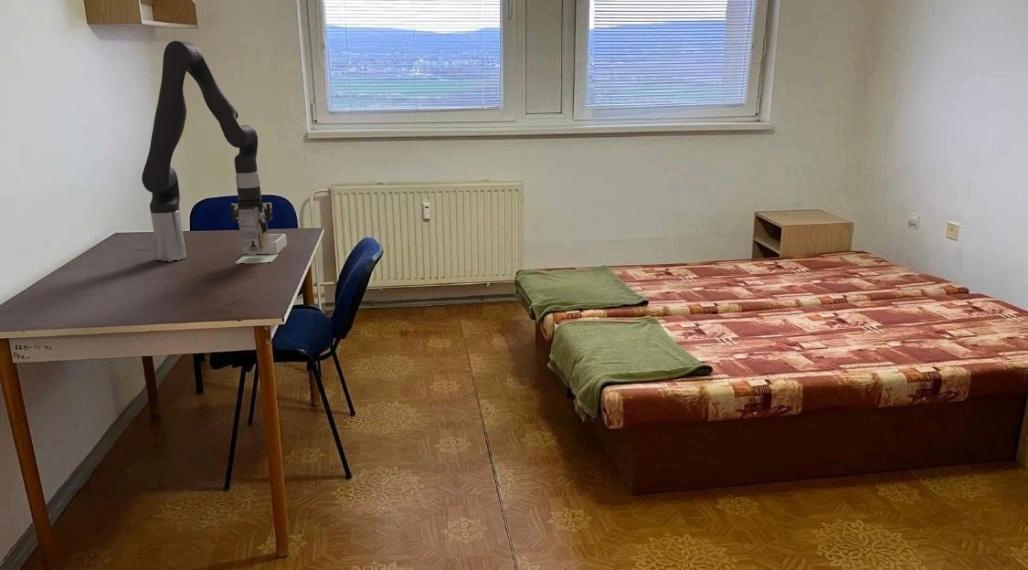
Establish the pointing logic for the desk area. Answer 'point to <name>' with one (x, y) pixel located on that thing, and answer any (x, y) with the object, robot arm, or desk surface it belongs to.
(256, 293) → the desk surface
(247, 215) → the coffee box
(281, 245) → the bin
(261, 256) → the mat
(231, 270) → the desk surface
